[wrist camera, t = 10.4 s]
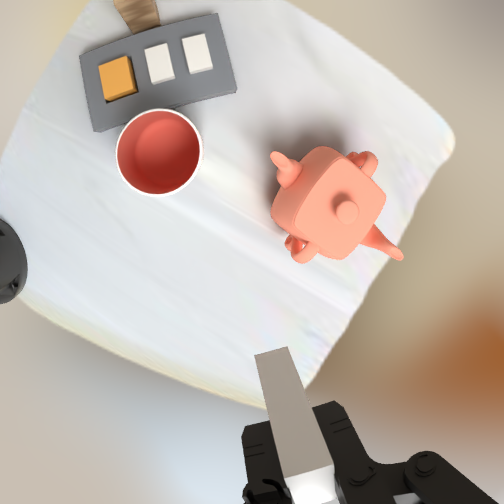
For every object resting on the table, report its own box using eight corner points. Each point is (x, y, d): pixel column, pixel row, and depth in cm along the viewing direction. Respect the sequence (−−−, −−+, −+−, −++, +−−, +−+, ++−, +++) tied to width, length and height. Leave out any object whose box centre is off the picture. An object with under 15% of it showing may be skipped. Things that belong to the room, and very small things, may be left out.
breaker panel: (100, 132, 40) (89, 130, 36) (86, 60, 36) (75, 53, 32) (235, 92, 41) (238, 86, 37) (217, 20, 37) (217, 8, 33)
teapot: (255, 151, 44) (271, 152, 32) (361, 143, 46) (406, 144, 34) (266, 252, 49) (284, 285, 37) (366, 236, 50) (407, 262, 38)
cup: (134, 187, 43) (114, 197, 34) (135, 118, 40) (116, 110, 31) (203, 187, 45) (201, 197, 35) (205, 117, 42) (204, 108, 32)
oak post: (135, 36, 36) (114, 4, 25) (131, 15, 35) (110, -19, 24) (161, 28, 37) (147, -7, 25) (157, 7, 35) (143, -30, 24)
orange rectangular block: (111, 102, 38) (104, 98, 35) (105, 71, 36) (98, 66, 33) (138, 92, 38) (133, 88, 35) (131, 61, 37) (126, 55, 34)
